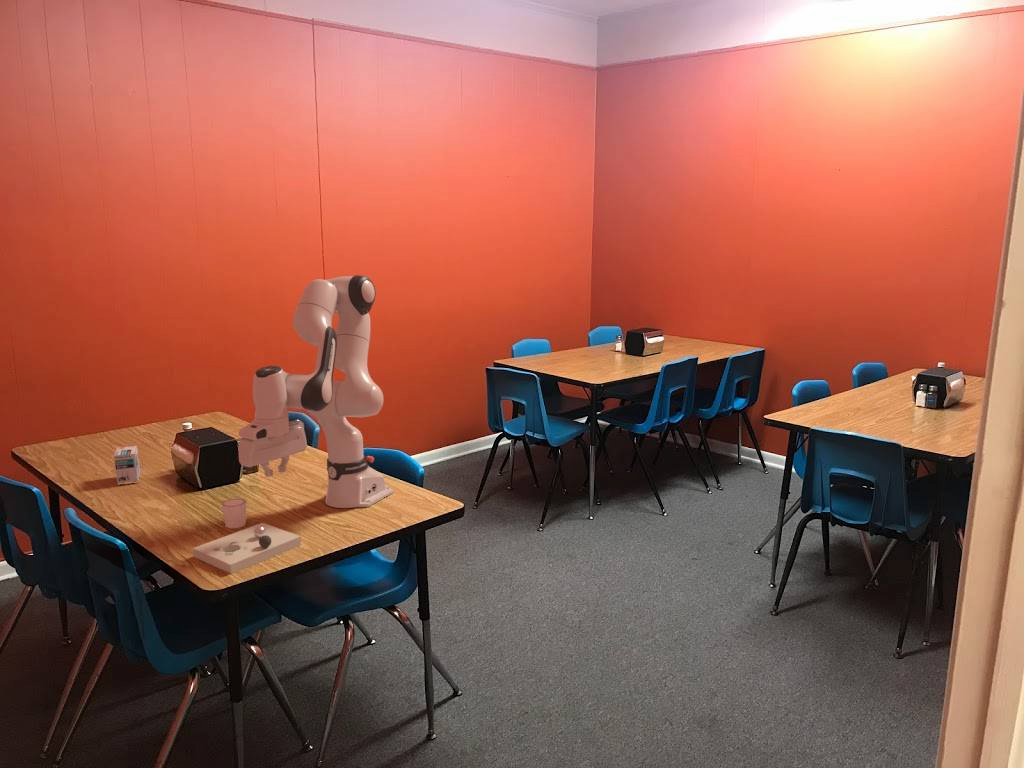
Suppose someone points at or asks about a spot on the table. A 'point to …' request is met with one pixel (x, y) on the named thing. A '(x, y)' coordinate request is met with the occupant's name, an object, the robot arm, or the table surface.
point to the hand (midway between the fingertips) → (275, 473)
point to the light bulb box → (127, 464)
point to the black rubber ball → (265, 541)
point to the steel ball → (259, 531)
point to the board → (245, 548)
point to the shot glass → (234, 513)
